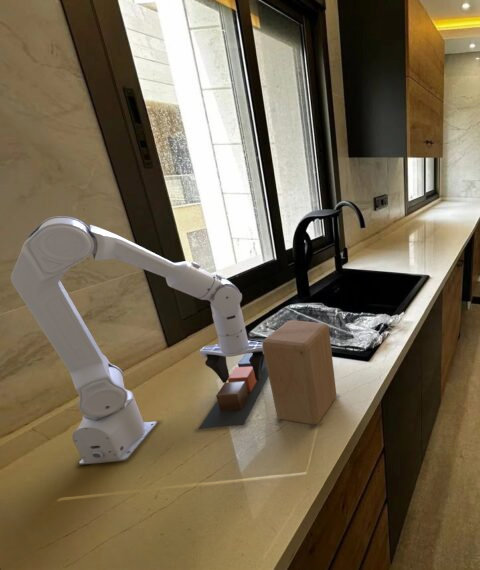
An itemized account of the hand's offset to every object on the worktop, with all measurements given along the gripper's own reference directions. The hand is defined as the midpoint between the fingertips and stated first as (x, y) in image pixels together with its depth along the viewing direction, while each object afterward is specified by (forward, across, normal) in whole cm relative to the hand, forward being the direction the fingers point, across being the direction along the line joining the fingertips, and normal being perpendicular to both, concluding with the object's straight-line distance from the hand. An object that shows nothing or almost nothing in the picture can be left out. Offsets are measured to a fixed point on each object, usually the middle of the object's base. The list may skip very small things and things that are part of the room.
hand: (242, 379), depth 80 cm
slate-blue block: (+2, 0, -6) cm, 6 cm away
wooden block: (+3, -17, +9) cm, 19 cm away
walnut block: (+2, 0, +6) cm, 6 cm away
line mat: (+3, 0, 0) cm, 3 cm away
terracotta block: (+2, 0, 0) cm, 2 cm away
